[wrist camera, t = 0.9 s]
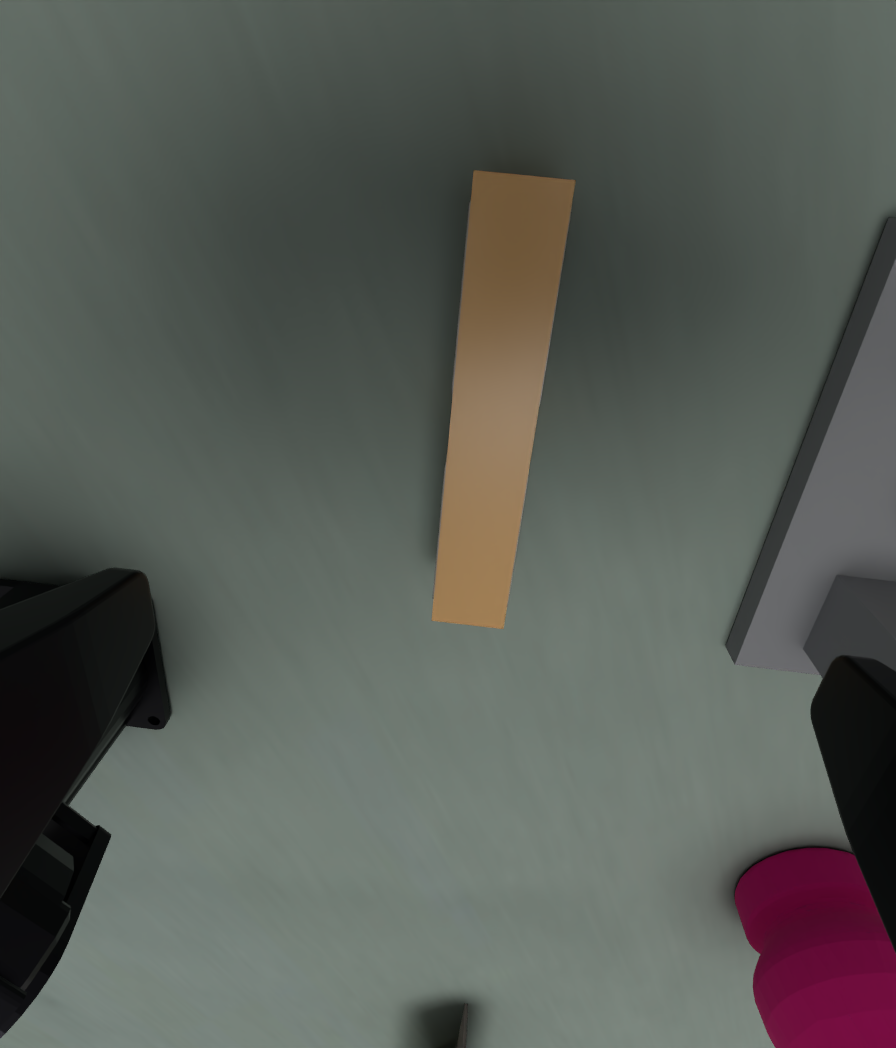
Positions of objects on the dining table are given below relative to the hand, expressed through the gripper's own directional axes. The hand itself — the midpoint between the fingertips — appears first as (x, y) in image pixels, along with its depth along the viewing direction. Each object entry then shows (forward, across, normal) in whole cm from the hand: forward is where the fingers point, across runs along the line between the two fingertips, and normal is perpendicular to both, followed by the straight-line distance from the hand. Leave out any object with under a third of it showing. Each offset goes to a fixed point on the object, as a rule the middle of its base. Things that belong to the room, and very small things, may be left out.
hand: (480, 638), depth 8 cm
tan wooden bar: (+12, 0, 0) cm, 12 cm away
